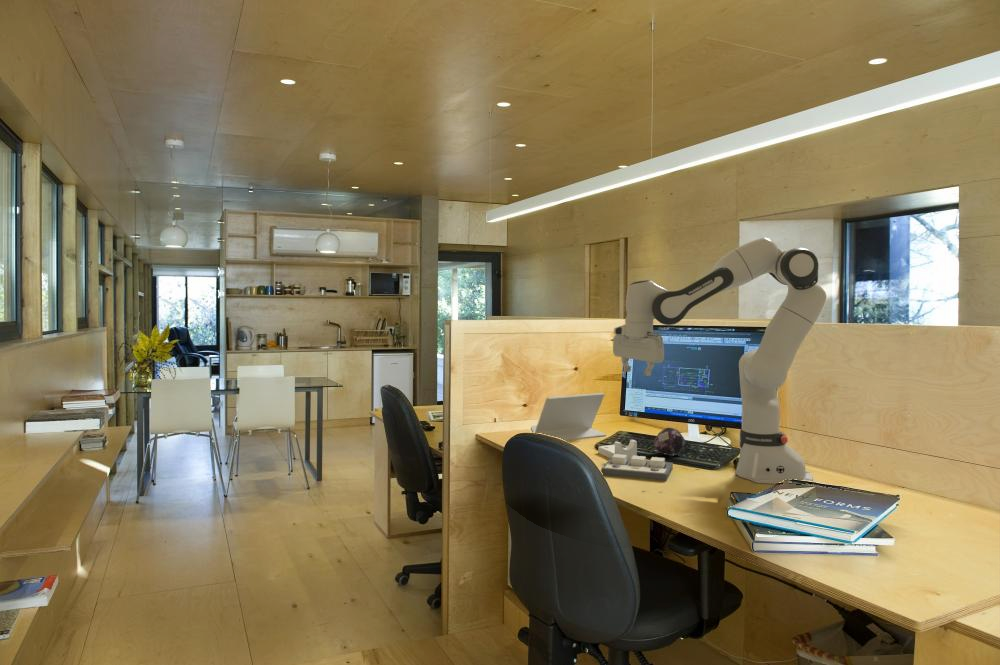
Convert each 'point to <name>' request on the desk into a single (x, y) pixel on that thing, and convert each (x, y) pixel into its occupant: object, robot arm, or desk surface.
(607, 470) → the button panel
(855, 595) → the desk surface
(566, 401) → the tablet stand
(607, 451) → the bracket
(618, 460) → the button far
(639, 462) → the button middle
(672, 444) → the mineral specimen
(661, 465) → the button near
